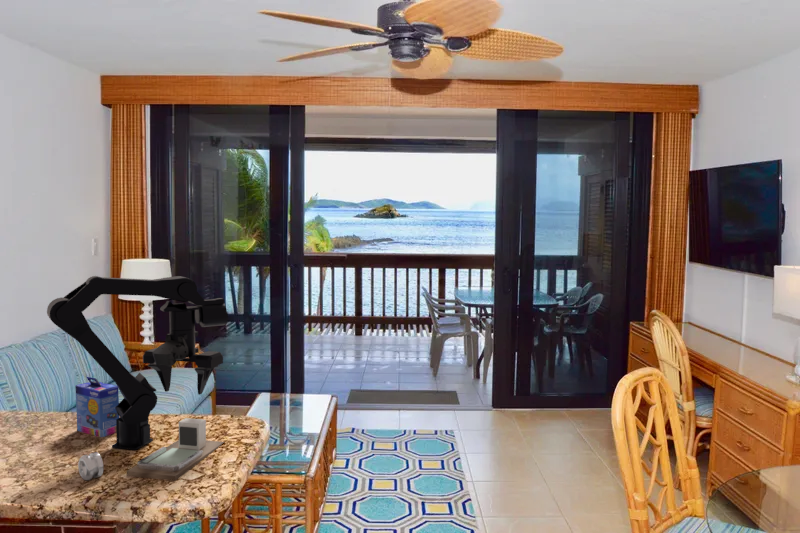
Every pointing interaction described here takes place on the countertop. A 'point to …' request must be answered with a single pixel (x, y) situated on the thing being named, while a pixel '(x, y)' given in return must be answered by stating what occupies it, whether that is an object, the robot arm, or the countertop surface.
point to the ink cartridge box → (96, 407)
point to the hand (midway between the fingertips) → (183, 392)
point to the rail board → (174, 461)
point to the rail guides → (162, 467)
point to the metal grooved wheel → (90, 466)
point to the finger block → (192, 433)
